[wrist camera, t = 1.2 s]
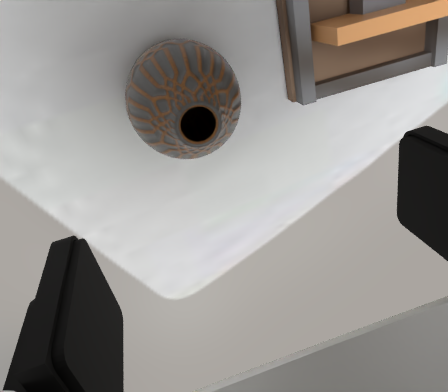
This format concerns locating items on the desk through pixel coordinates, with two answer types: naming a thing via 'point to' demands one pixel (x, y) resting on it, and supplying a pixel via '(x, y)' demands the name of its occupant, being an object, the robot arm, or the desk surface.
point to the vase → (183, 98)
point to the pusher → (376, 19)
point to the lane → (350, 51)
